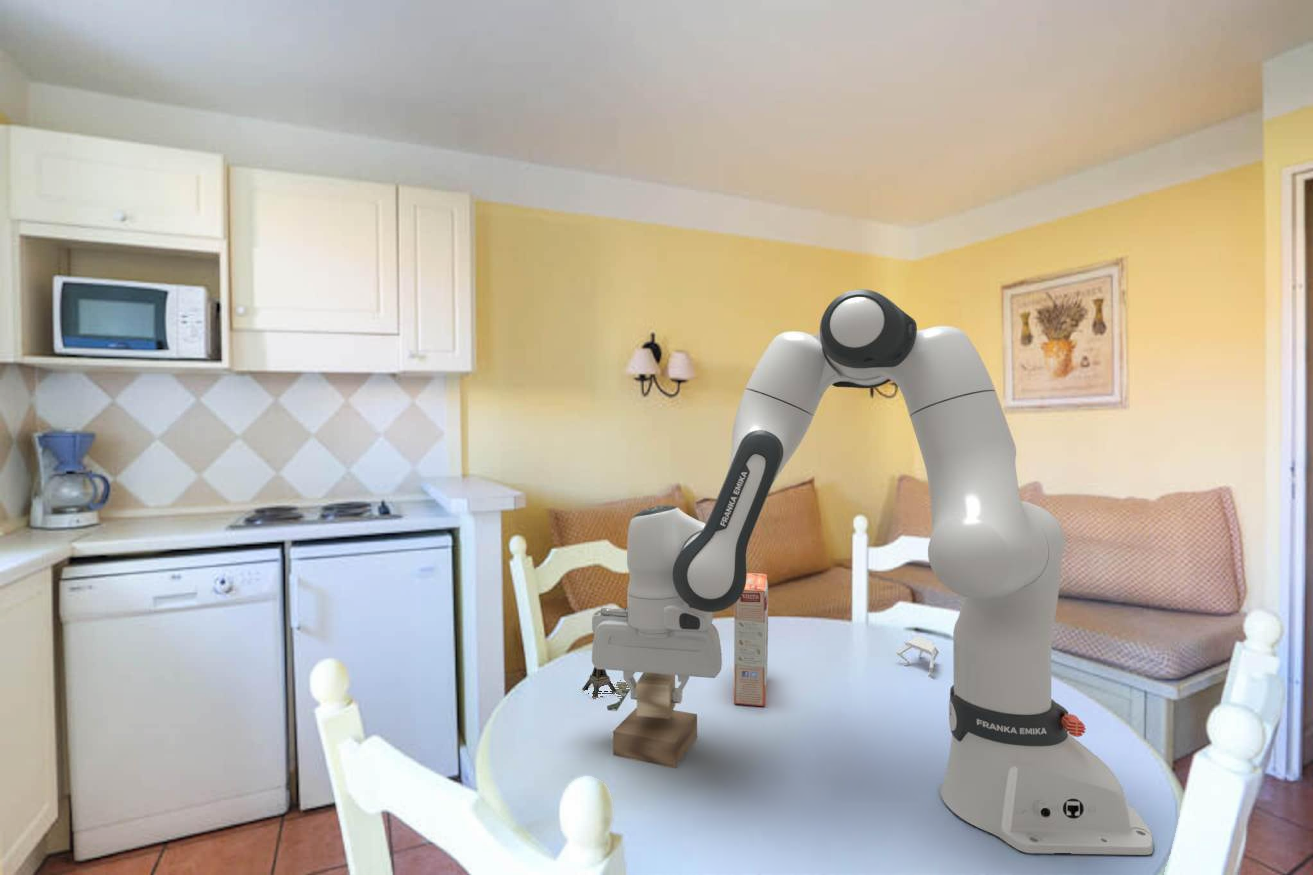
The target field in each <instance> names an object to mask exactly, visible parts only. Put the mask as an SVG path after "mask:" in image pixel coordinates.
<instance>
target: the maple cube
mask: <svg viewBox="0 0 1313 875" xmlns="http://www.w3.org/2000/svg"><path fill="white" fill-rule="evenodd" d="M636 683H637V700H636V708H637V716H644V717H655V718H666V719H669V718H670V716H671V714H672V711H673V710H674V709H675V707H676V703H671V698H672V697H671V691H672V689H673V688H676V675H668V674H655V673H642V674H641V676H640V677H639V678H638V680H637V681H636Z"/></svg>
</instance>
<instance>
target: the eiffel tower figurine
mask: <svg viewBox="0 0 1313 875" xmlns="http://www.w3.org/2000/svg"><path fill="white" fill-rule="evenodd" d="M589 675H590V677H589V678H588V680H587V681H586V682H585V684H584V686H582V688H581V689H582V690H583V691H585V690H588V688H590V687H591V685H592V687H594V691H593V693H592V694H593V696H592V698H593V699H592V698H591V699H592V700H594V699H595V700H597V699H596V698H599V697H598V694H601V693H598V692H602V691H599V688H600V687H601V686H604V685H608V686H609V687H610V689H611V690H612V691H610V692H612V693H602V694H613V695H614V694H615V693H616V694H618V695H621V696H616V697H617V698H618V697H622V698H618V699H619V700H618V701H617V702H615V703H613V704H610V705H607V706H606V709H607V710H608V711H618V709H619V708H620V706H621V704H622V703H623V702H624V700H625V698H626V696H627V695H628V693H629V692H630V689H626V688H629V687H627V686H628V685H627V684H626V682H617V684H616V686H618V687H614V686H613V684H612V683H611V681H610V679H611V678H610V676H609V675H608V673H607V670H605V669H597V668H596V667H595V666H594V665H593V669H592V672H591V674H589ZM620 681H621V680H620ZM614 685H615V684H614ZM615 688H619V689H615ZM583 691H582V692H583ZM604 692H608V691H604ZM588 694H589V693H588ZM600 697H602V698H604V697H603V696H600ZM599 699H600V698H599Z"/></svg>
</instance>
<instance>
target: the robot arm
mask: <svg viewBox="0 0 1313 875" xmlns="http://www.w3.org/2000/svg"><path fill="white" fill-rule="evenodd" d="M917 326H918V324H917V322H916V320H915V319H914V318H913V317H912V316H910V315H909V314H907V313H906V312H905V311H904V310H902V309H901V308H900V307H898V306H897V304H895V303H894V302H893V301H891V300H890V299H889V298H887V297H886V296H884V295H883V294H882V293H879V292H877V291H873V290H870V289H862V288H861V289H859V288H858V289H852V290H849V291H846V292H844V293H842V294H840V295H839V296H837V297H836V298H835V299H833V300H832V301H831V302H830V304H829V305H828V306H827V307H826V309H825V310H824V312H823V314H822V317H821V320H820V324H819V332H818V333H817V334H813V333H811V334H810V333H807V332H804V331H798V330H791V331H790V330H789V331H784V332H782V333H779V334H777V335H776V336H775V337H774V338H773V339H772V341H771V342H770V343H769V345H768V346H767V348H766V349H765V351H764V352H763V354H762V356H761V357H760V359H759V361H758V363H757V364H756V366H755V368H754V369H753V371H752V374H751V376H750V377H749V380H748V382H747V385H746V387H745V389H744V391H743V393H742V397H741V398H740V400H739V404H738V408H737V410H736V416H735V418H734V423H733V428H732V434H731V452H730V459H729V463H728V464H729V465H728V469H727V473H726V476H725V478H724V481H723V483H722V485H721V488H720V489H719V490H720V491H719V493H718V495H717V498H716V500H715V502H714V505H713V507H712V509H711V512H710V514H709V517H708V519H707V521H706V523H705V522H703V521H701V520H698V519H696V518H694V517H693V516H690V515H688V514H687V513H685V512H684V511H682V510H681V509H680V508H679V507H678V506H675V505H671V504H670V505H669V504H667V505H660V506H653V507H650V508H646V509H643V510H641V511H639V512H638V513H636V514H634V516H633V517H632V518H631V520H630V522H629V526H628V531H627V541H626V542H627V543H626V546H627V548H626V550H627V551H626V564H627V565H626V566H627V570H628V572H629V581H628V586H627V589H626V590H627V591H626V592H627V593H626V594H627V595H626V596H627V597H626V598H627V600H626V604H627V605H626V606H627V608H609V607H604V608H603V607H602V608H601V609H599V610H597V611H596V612H594V614H593V615H592V618H591V621H592V622H591V629H592V633H593V634H594V636H593V642H592V650H591V663H592V665H593V667H594V666H595V667H596V668H597V669H605V670H606V671H607V670H608V671H619V672H620V671H621V672H622V673H623V674H622V677H623V678H622V679H624V680H625V681H626V683H627V685H628V687H629V688H630V690H629V692H630V694H629V695H630V696H629V697H630V700H636V701H637V681H636V679H635V677H634V675H635V673H642V674H643V673H655V674H668V675H675V676H677V682H678V683H680V684H679V686H678V687H675V688H673V689H672V691H671V697H672V698H671V703H675V704H682V702H683V691H684V688H685V687H686V685H687V683H688V681H689V679H690V677H694V678H695V677H696V678H706V679H707V678H708V679H715V678H716V677H718V675H719V674H720V672H722V671H721V670H722V666H723V660H722V659H723V657H722V656H723V654H722V645H721V640H720V634H719V631H718V629H717V627H716V626H715V624H713V619H714V613H716V612H717V613H718V612H722V611H724V610H726V609H729V608H730V607H732V606H734V603H736V602H737V601H738V599H739V598H740V597H741V595H742V593H743V591H744V589H745V585H746V577H747V573H748V572H747V549H748V546H749V543H750V540H751V536H752V534H753V532H754V529H755V528H756V524H757V522H758V519H759V517H760V514H761V512H762V509H763V507H764V506H765V502H766V500H767V497H768V494H769V492H770V490H771V488H772V487H773V485H774V483H775V481H776V480H777V478H778V476H779V475H780V474H781V472H782V470H784V468H785V466H786V465H787V463H788V462H789V460H790V459H791V458H792V457H793V455H794V453H795V452H796V450H797V449H798V448H799V446H800V444H801V442H802V440H803V439H804V437H805V436H806V433H807V432H808V429H809V428H810V426H811V423H812V421H813V418H814V416H815V414H816V411H817V408H819V404H820V402H821V400H822V398H823V396H824V394H825V393H826V391H827V390H828V389H829V387H830V386H833V387H836V388H855V389H873V388H878V387H882V386H884V385H886V384H888V383H889V382H891V381H892V382H893V383H894V384H895V385H896V386H897V387H898V389H899V390H900V393H901V394H902V397H903V398H904V402H905V406H906V408H907V412H908V415H909V419H910V422H911V424H912V427H913V431H914V434H915V437H916V440H917V443H918V447H919V450H920V453H921V457H922V460H923V462H924V466H925V471H926V476H927V481H928V494H929V502H930V503H929V504H930V514H931V528H932V530H931V535H930V539H929V541H928V547H927V548H928V549H927V557H928V562H929V566H930V568H931V571H932V573H934V575H935V577H936V578H937V580H938V581H939V582H940V583H941V584H942V585H943V586H944V587H946V588H947V589H948V590H949V591H951V592H952V593H955V594H957V595H959V596H963V600H962V603H961V606H960V607H961V608H960V611H959V614H958V617H957V619H956V622H955V623H954V624H955V625H954V628H953V634H952V640H953V642H952V643H953V645H952V648H953V649H952V650H953V652H952V653H953V654H952V655H953V684H952V686H951V687H950V689H949V700H948V725H949V729H950V732H951V742H950V747H949V748H950V750H949V757H948V762H947V767H946V771H945V773H944V774H945V775H944V777H943V778H944V779H943V781H942V783H941V785H940V786H941V787H940V789H939V790H940V797H941V799H942V800H943V802H944V804H945V806H947V808H948V809H949V810H951V811H952V813H954V814H955V815H956V816H958V817H959V818H961V819H962V820H964V821H966V822H967V823H969V824H971V825H972V826H975V827H976V828H979V829H981V830H983V831H985V832H988V833H990V834H992V835H994V836H996V837H998V838H1000V839H1001V840H1003V841H1004V842H1006V843H1007V844H1008V845H1010V846H1012V847H1013V848H1014V849H1016V850H1018V851H1019V852H1020V851H1021V852H1023V853H1027V854H1054V853H1071V854H1070V855H1076V854H1077V855H1128V856H1129V855H1131V856H1132V855H1133V856H1134V855H1135V856H1136V855H1138V856H1142V855H1143V856H1144V855H1145V856H1146V855H1147V856H1149V855H1151V854H1153V851H1154V840H1153V835H1152V833H1151V831H1150V828H1149V827H1148V825H1147V824H1146V822H1145V821H1144V819H1143V818H1142V817H1141V816H1140V814H1138V812H1137V811H1136V810H1135V809H1134V808H1133V807H1132V806H1131V805H1129V803H1127V800H1126V796H1125V792H1124V789H1123V787H1122V785H1121V782H1120V781H1119V779H1118V777H1117V776H1116V774H1115V773H1114V772H1113V771H1112V769H1111V768H1110V767H1109V766H1108V765H1107V764H1106V763H1105V762H1104V761H1103V760H1102V759H1101V758H1100V757H1099V756H1097V755H1096V754H1095V753H1094V752H1092V751H1091V750H1090V749H1088V748H1087V747H1086V746H1085V745H1084V744H1083V743H1081V742H1080V741H1079V740H1077V739H1076V738H1077V737H1078V738H1079V737H1082V736H1083V734H1085V733H1086V730H1087V729H1086V725H1085V724H1084V723H1083V721H1081V720H1080V719H1079V718H1078V717H1077V716H1076V715H1075V714H1071V713H1069V711H1068V710H1067V709H1066V708H1065V707H1064V706H1063V705H1061V704H1059V703H1057V702H1056V701H1055V700H1053V698H1052V648H1053V647H1052V646H1053V645H1052V642H1053V633H1054V625H1055V619H1056V614H1057V608H1058V601H1059V593H1060V586H1061V576H1062V574H1061V573H1062V564H1063V557H1064V552H1065V548H1066V535H1065V531H1064V529H1063V526H1062V525H1061V523H1060V522H1059V520H1058V519H1057V517H1056V516H1054V515H1053V514H1052V513H1051V512H1049V511H1048V510H1047V509H1045V508H1043V507H1041V506H1039V505H1036V504H1034V503H1032V502H1031V503H1030V502H1028V501H1024V500H1021V495H1020V488H1019V483H1018V482H1019V481H1018V476H1017V475H1018V474H1017V466H1016V456H1017V447H1016V444H1015V440H1014V438H1013V436H1012V432H1011V430H1010V427H1009V425H1008V421H1007V418H1006V416H1005V413H1004V410H1003V408H1002V405H1001V401H1000V399H999V397H998V394H997V391H996V388H995V385H994V383H993V380H992V378H991V375H990V374H989V371H988V369H987V367H986V364H985V363H984V361H983V359H982V357H981V356H980V354H979V351H978V350H977V349H976V347H975V345H974V344H973V342H972V341H971V339H970V337H969V336H968V335H967V334H966V333H965V332H964V331H963V330H962V329H960V328H958V327H954V326H949V325H938V326H932V327H929V328H924V329H920V330H919V329H918V328H917ZM1075 737H1076V738H1075Z"/></svg>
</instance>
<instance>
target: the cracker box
mask: <svg viewBox="0 0 1313 875" xmlns="http://www.w3.org/2000/svg"><path fill="white" fill-rule="evenodd" d="M733 606H734V608H733V609H734V615H733V616H734V621H733V622H734V624H733V626H734V628H733V629H734V631H733V632H734V633H733V634H734V635H733V636H734V642H733V644H734V645H733V646H734V647H733V648H734V650H733V653H734V654H733V656H734V657H733V658H734V659H733V665H734V666H733V703H734V704H735V705H742V706H743V705H744V706H745V705H746V706H753V707H754V706H755V707H756V706H757V707H765V706H766V697H767V696H766V695H767V686H768V684H767V683H768V660H769V659H768V658H769V657H768V654H769V651H768V649H769V647H768V645H769V643H768V642H769V583H768V574H767V573H766V574H765V573H760V572H759V573H755V572H753V573H752V572H750V573H748V572H747V577H746V585H745V589H744V591H743V593H742V595H741V597H740V598H739V599H738V601H737V602H736V603H734V604H733Z"/></svg>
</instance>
